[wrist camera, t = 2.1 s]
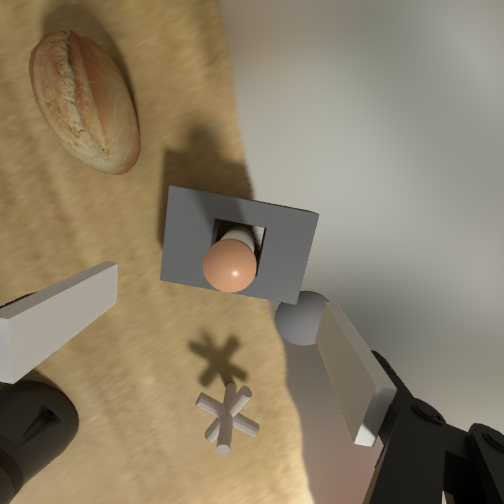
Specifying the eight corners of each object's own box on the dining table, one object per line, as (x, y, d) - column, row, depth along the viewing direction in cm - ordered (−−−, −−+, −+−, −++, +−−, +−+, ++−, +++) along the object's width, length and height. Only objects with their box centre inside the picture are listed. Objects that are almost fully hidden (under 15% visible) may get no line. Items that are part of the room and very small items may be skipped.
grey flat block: (172, 269, 35) (160, 280, 31) (181, 186, 32) (169, 185, 28) (291, 290, 36) (296, 304, 31) (311, 211, 33) (319, 214, 28)
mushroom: (219, 254, 34) (199, 287, 23) (224, 220, 33) (206, 236, 21) (253, 260, 35) (251, 296, 23) (259, 227, 33) (261, 246, 22)
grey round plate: (270, 338, 38) (270, 339, 37) (282, 286, 35) (282, 287, 35) (325, 348, 38) (326, 349, 37) (341, 296, 36) (342, 297, 35)
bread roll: (119, 35, 28) (67, -25, 20) (165, 163, 32) (136, 153, 24) (48, 62, 29) (-28, 16, 21) (100, 184, 33) (51, 182, 25)
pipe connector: (222, 351, 38) (210, 405, 29) (272, 381, 40) (277, 443, 30) (190, 393, 40) (170, 456, 31) (239, 420, 42) (234, 489, 32)
